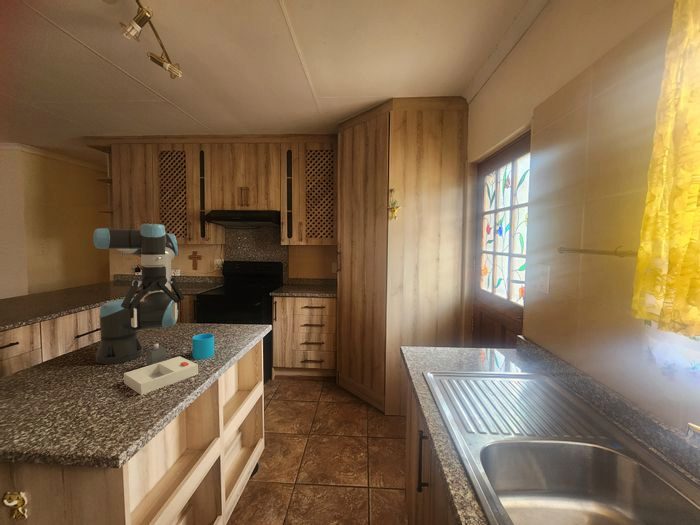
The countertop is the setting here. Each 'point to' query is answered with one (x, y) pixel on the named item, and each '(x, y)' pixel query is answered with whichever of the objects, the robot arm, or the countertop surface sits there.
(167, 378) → the socket plate
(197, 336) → the mug
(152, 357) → the plug
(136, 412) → the countertop surface
